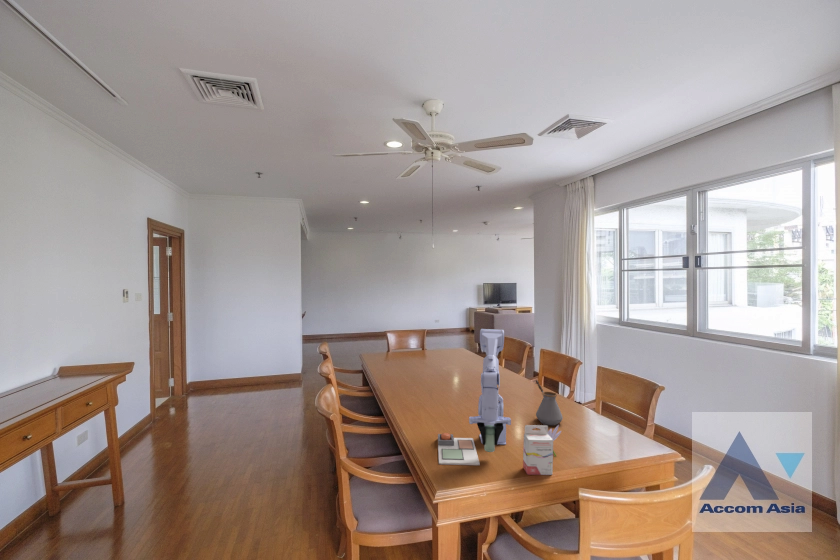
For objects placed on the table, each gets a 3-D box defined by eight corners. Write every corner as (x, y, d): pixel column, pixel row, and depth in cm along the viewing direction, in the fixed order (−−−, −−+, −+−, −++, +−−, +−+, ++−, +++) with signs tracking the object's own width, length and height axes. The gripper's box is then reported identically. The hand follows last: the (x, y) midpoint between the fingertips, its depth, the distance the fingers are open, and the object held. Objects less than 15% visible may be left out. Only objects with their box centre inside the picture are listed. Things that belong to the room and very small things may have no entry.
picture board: (472, 439, 146) (473, 433, 146) (479, 465, 126) (479, 458, 126) (437, 438, 146) (437, 432, 146) (438, 464, 126) (439, 457, 126)
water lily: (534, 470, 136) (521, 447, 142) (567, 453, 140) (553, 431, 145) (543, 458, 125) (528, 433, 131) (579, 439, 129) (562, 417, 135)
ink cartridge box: (527, 475, 120) (528, 430, 120) (522, 467, 125) (523, 424, 125) (553, 475, 120) (553, 430, 120) (547, 467, 125) (548, 424, 125)
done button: (450, 438, 144) (450, 433, 144) (450, 442, 140) (450, 437, 140) (441, 437, 144) (441, 432, 144) (441, 441, 141) (441, 436, 141)
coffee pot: (567, 427, 160) (567, 392, 160) (542, 427, 159) (542, 393, 159) (546, 409, 181) (546, 379, 181) (524, 410, 180) (524, 379, 180)
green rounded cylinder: (494, 447, 132) (494, 425, 132) (495, 452, 128) (496, 429, 128) (483, 447, 132) (483, 424, 132) (484, 452, 128) (485, 429, 128)
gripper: (470, 409, 126) (470, 448, 126) (513, 410, 126) (512, 449, 126) (468, 402, 133) (468, 439, 133) (508, 403, 133) (508, 440, 133)
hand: (489, 443), depth 130 cm, fingers closed on green rounded cylinder, 4 cm apart
